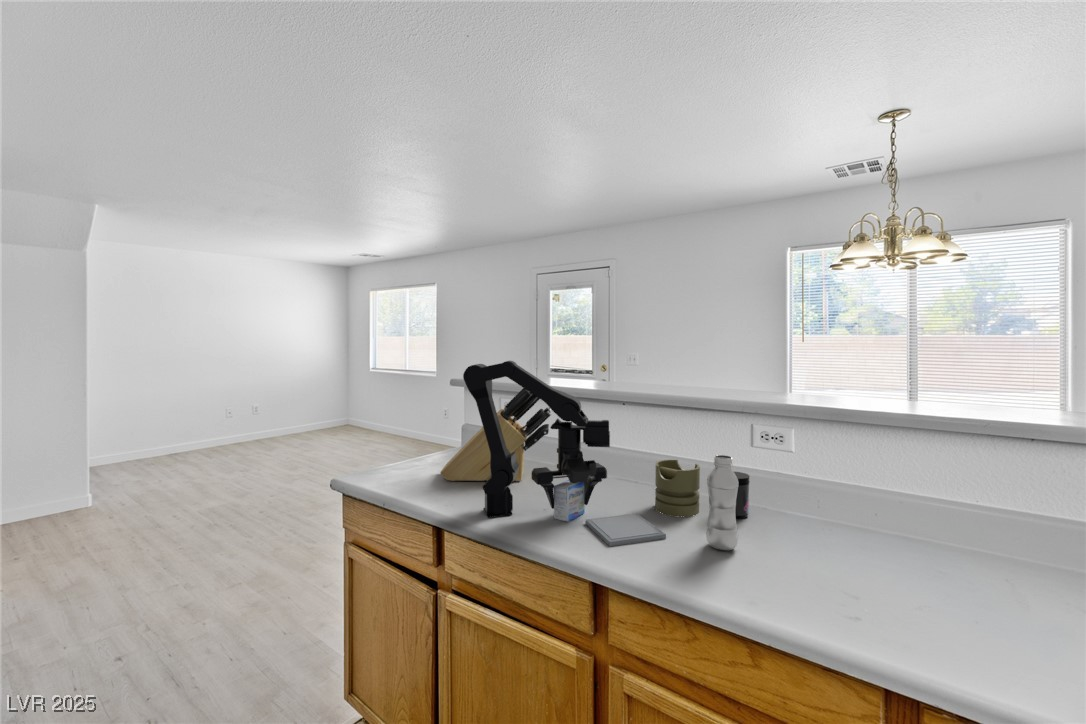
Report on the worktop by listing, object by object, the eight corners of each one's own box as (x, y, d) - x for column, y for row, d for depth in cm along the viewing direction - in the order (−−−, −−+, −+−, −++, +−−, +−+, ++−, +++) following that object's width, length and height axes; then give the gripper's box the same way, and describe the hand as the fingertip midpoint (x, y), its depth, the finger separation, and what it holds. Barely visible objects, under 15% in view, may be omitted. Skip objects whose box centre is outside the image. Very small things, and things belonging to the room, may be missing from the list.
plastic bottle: (723, 556, 105) (724, 462, 104) (699, 544, 111) (700, 455, 110) (744, 550, 108) (746, 458, 107) (720, 539, 114) (721, 452, 113)
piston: (685, 473, 125) (647, 464, 133) (685, 520, 126) (646, 509, 134) (707, 464, 133) (670, 457, 141) (707, 509, 133) (669, 499, 142)
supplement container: (744, 521, 125) (745, 480, 124) (717, 515, 129) (717, 475, 128) (752, 513, 130) (753, 474, 130) (725, 508, 134) (726, 469, 134)
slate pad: (609, 546, 110) (609, 541, 110) (585, 523, 124) (585, 519, 124) (665, 538, 114) (666, 533, 114) (636, 517, 128) (636, 512, 128)
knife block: (551, 482, 158) (551, 384, 156) (440, 482, 158) (438, 384, 157) (551, 472, 169) (551, 381, 168) (447, 472, 170) (446, 381, 168)
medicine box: (567, 522, 124) (567, 488, 124) (553, 518, 127) (553, 485, 126) (585, 513, 130) (585, 480, 130) (570, 510, 133) (570, 477, 133)
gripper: (544, 456, 117) (544, 521, 118) (616, 450, 123) (616, 513, 124) (530, 446, 128) (531, 506, 129) (598, 441, 133) (598, 499, 134)
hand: (569, 506), depth 129 cm, fingers closed on medicine box, 9 cm apart
